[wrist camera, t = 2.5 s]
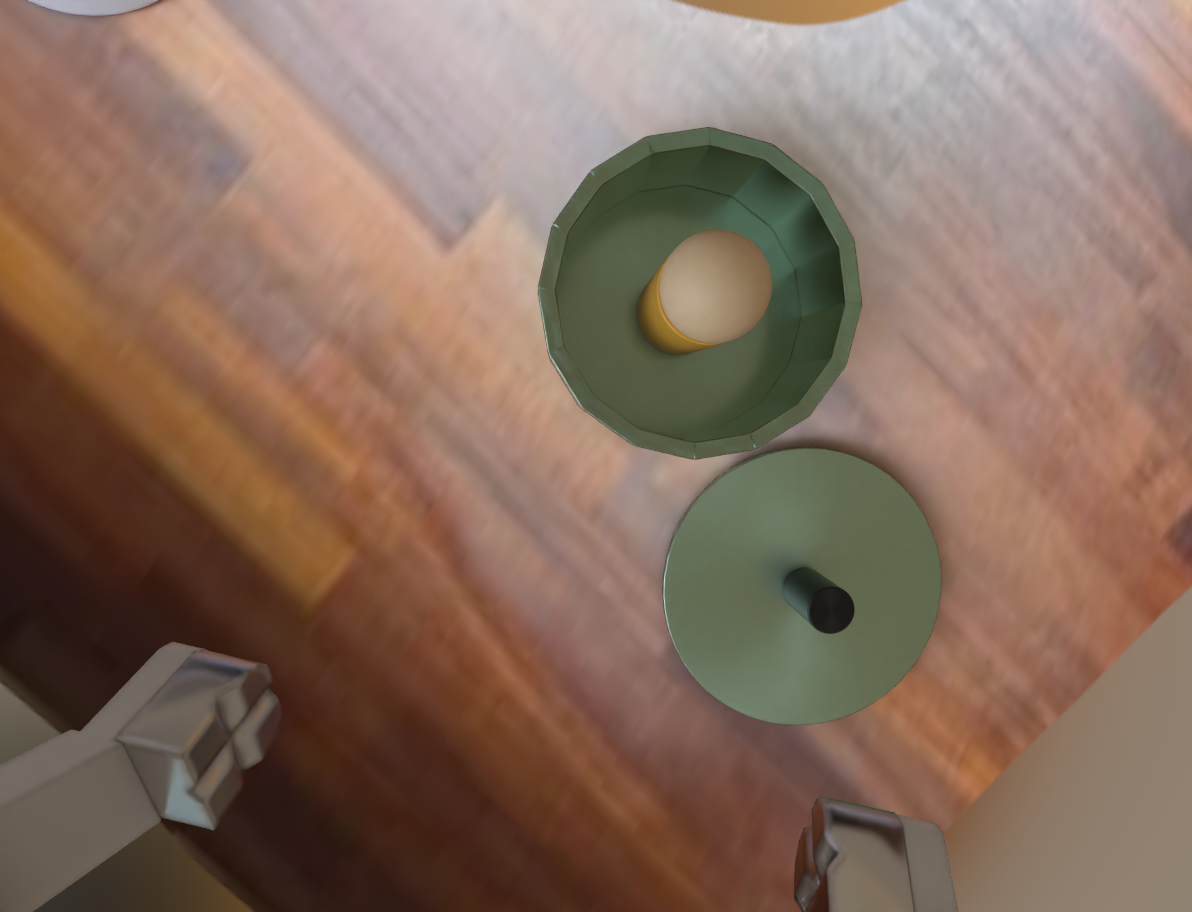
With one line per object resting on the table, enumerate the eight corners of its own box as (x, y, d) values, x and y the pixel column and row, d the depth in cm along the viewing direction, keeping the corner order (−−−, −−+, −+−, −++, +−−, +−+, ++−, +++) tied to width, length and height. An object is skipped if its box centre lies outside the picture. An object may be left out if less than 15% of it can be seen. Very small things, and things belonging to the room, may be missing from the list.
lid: (608, 541, 40) (615, 562, 35) (847, 393, 40) (889, 393, 35) (749, 766, 41) (776, 819, 36) (979, 624, 41) (1038, 657, 36)
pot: (491, 266, 38) (477, 239, 32) (724, 122, 38) (758, 66, 32) (633, 496, 39) (648, 516, 33) (857, 357, 39) (916, 350, 33)
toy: (620, 297, 38) (646, 257, 27) (694, 251, 38) (749, 193, 27) (665, 371, 38) (707, 361, 28) (737, 326, 38) (809, 298, 28)
